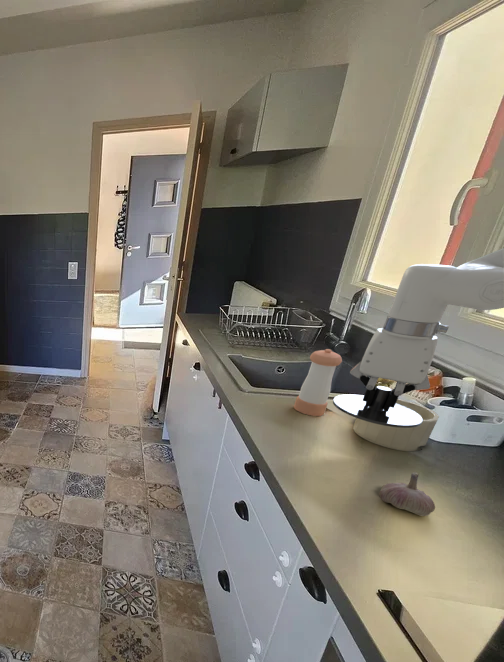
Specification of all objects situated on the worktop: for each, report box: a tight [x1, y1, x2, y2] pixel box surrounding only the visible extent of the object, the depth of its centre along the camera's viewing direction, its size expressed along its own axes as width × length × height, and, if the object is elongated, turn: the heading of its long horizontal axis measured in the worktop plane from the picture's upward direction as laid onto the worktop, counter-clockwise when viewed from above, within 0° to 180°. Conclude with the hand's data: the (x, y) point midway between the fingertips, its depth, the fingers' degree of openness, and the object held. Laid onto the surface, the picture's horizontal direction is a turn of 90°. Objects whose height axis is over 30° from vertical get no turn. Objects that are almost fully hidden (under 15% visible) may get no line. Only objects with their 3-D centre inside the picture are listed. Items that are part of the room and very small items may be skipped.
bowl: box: [352, 398, 440, 452], centre depth 98 cm, size 14×14×8 cm
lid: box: [332, 385, 423, 428], centre depth 85 cm, size 15×15×6 cm
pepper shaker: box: [293, 348, 343, 417], centre depth 110 cm, size 7×7×19 cm
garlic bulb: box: [378, 471, 436, 517], centre depth 75 cm, size 8×7×8 cm
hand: (376, 406), depth 85 cm, fingers closed on lid, 2 cm apart
